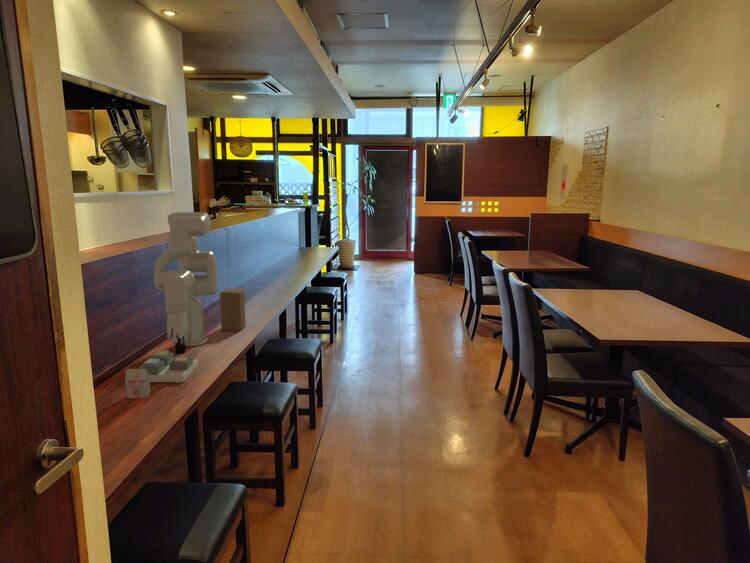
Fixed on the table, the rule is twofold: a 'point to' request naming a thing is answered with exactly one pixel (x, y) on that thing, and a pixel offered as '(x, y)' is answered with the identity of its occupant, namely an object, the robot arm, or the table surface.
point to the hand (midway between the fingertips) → (180, 353)
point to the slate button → (152, 362)
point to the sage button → (161, 354)
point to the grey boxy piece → (137, 383)
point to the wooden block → (232, 309)
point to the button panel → (170, 369)
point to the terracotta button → (181, 359)
